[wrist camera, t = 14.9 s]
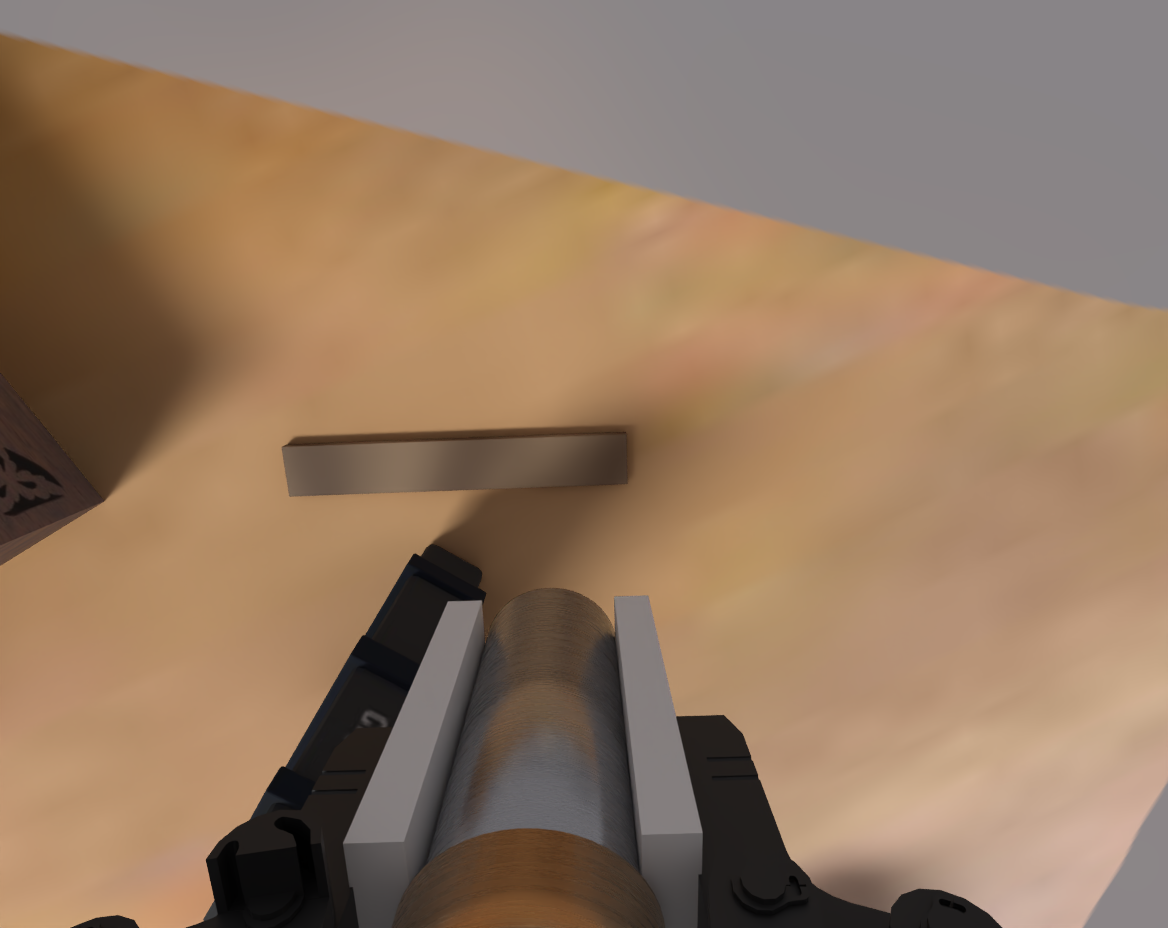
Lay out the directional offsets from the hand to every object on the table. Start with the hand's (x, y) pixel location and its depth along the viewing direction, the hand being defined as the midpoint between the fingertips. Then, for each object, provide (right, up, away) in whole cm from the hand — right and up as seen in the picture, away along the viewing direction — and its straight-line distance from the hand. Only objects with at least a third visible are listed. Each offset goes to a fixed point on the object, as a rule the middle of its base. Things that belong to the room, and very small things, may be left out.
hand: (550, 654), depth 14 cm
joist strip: (-5, +4, +16) cm, 17 cm away
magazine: (-9, -5, +19) cm, 21 cm away
